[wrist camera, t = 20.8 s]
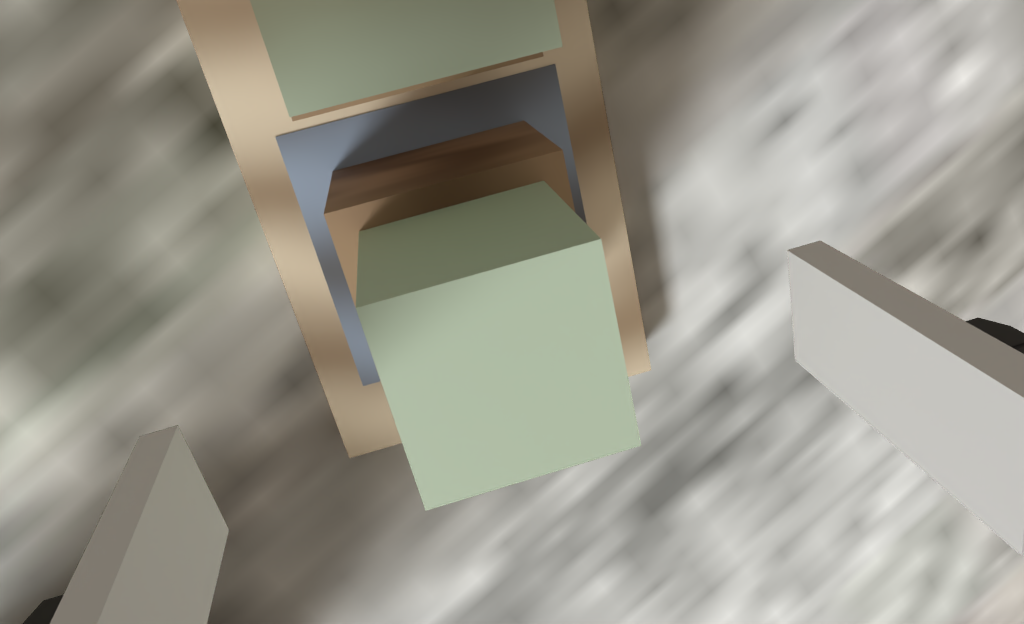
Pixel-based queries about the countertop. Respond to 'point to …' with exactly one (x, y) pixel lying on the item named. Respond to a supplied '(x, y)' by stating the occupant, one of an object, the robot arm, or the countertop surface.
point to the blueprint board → (385, 132)
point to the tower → (393, 45)
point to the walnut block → (437, 182)
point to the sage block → (495, 341)
